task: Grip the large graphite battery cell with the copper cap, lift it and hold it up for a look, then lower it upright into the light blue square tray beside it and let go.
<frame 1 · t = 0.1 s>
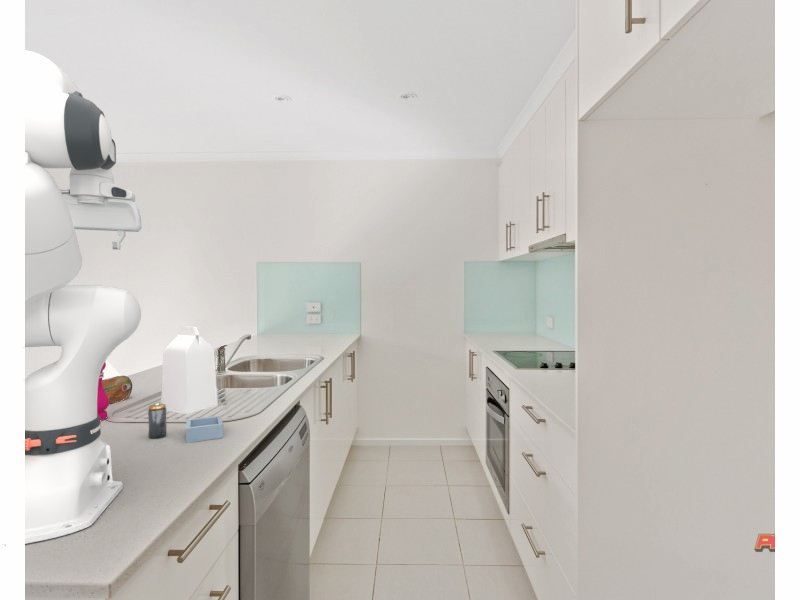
hand: (93, 248, 107), 48 cm above the counter, tool pointing down, fingers open, 8 cm apart
tin: (111, 403, 147), on the counter
milk: (189, 407, 142), on the counter
light blue square tray: (204, 435, 115), on the counter
cell: (157, 436, 114), on the counter
pepper mill: (94, 420, 129), on the counter
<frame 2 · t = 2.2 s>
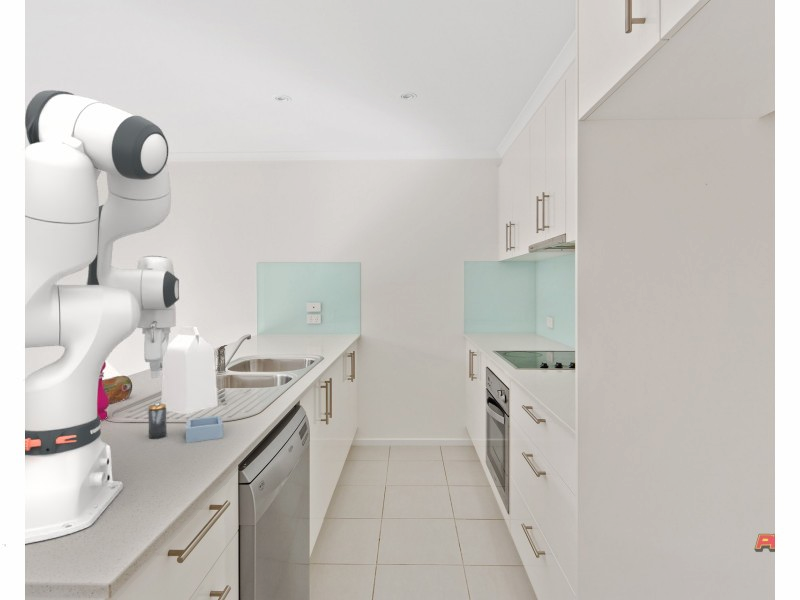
hand: (157, 373, 114), 16 cm above the counter, tool pointing down, fingers open, 8 cm apart
nothing on the counter moved.
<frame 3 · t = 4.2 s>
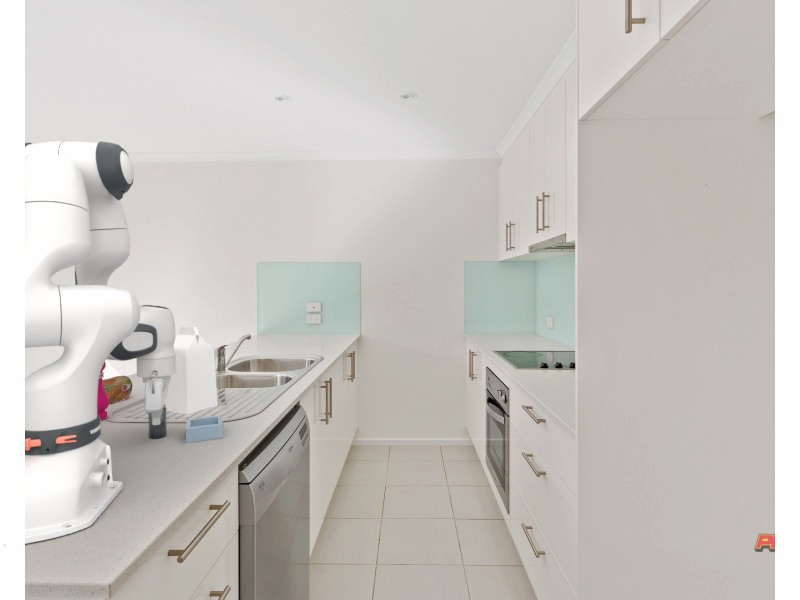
hand: (157, 421, 114), 4 cm above the counter, tool pointing down, fingers closed on cell, 4 cm apart
cell: (157, 436, 114), on the counter, touching gripper
everything else where it was.
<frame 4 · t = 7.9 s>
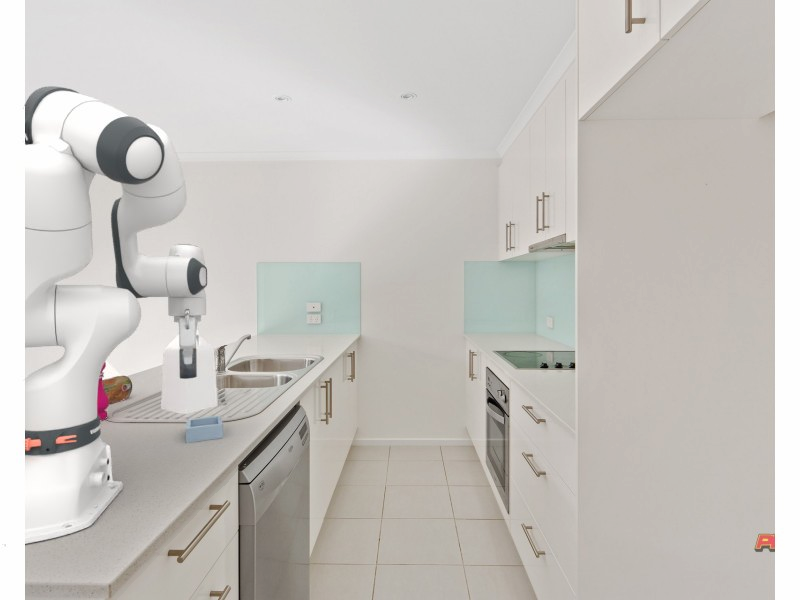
hand: (188, 361, 114), 19 cm above the counter, tool pointing down, fingers closed on cell, 4 cm apart
cell: (188, 377, 115), point 15 cm above the counter, touching gripper
everything else where it was.
when the fingers open (6 cm above the counter, at t = 11.4 s): cell drops 1 cm, resting on light blue square tray.
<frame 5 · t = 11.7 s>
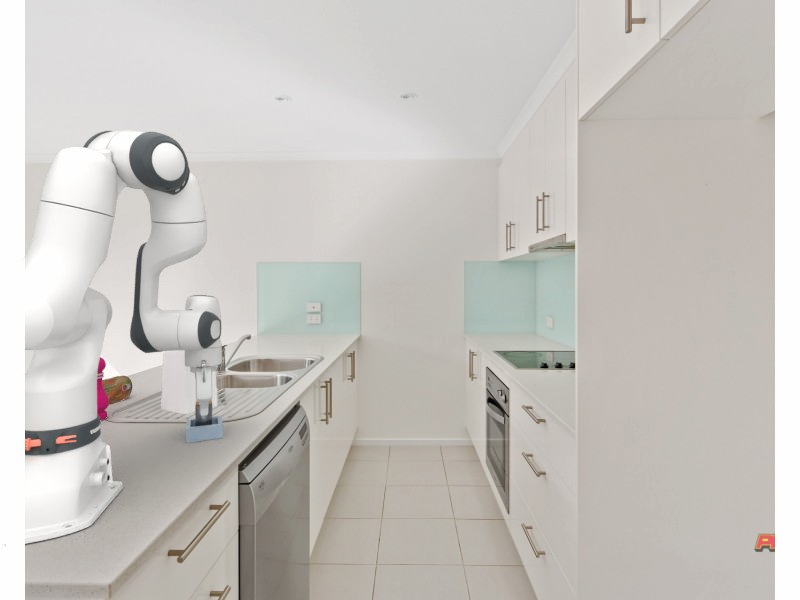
hand: (204, 410, 115), 6 cm above the counter, tool pointing down, fingers open, 6 cm apart
cell: (203, 431, 115), point 1 cm above the counter, touching light blue square tray
everything else where it was.
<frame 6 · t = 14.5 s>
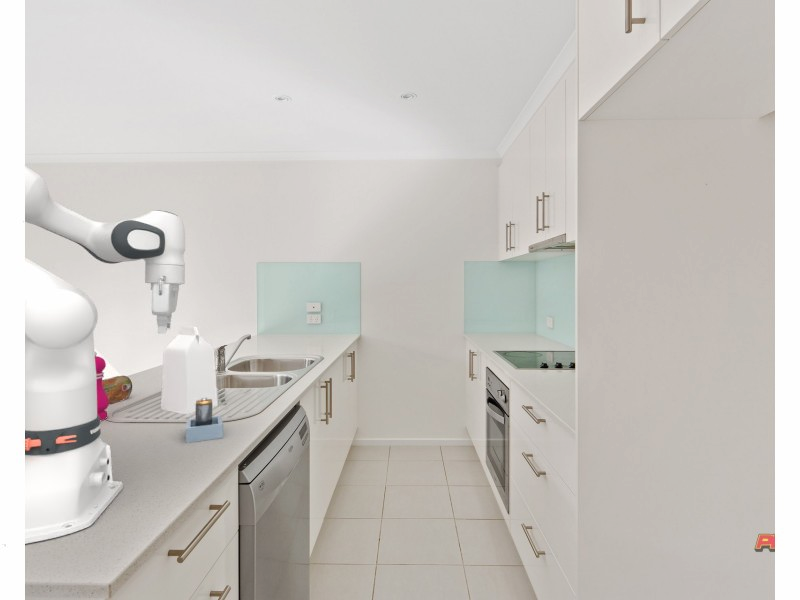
hand: (164, 331, 112), 27 cm above the counter, tool pointing down, fingers open, 8 cm apart
nothing on the counter moved.
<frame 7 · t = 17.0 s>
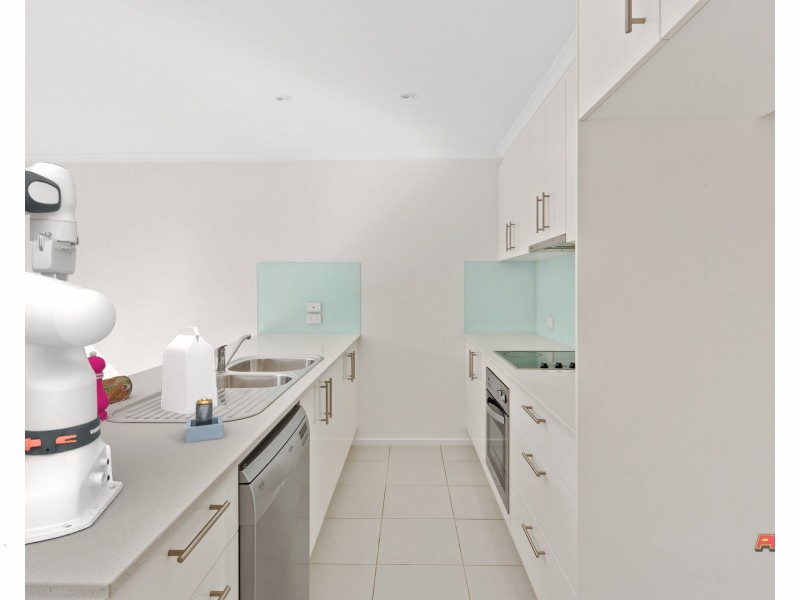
hand: (55, 293, 105), 37 cm above the counter, tool pointing down, fingers open, 8 cm apart
nothing on the counter moved.
at the end: cell 0.2 cm off-centre on the light blue square tray, point 1.1 cm above the light blue square tray's base; cell tilted 2°; the gripper is holding nothing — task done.
